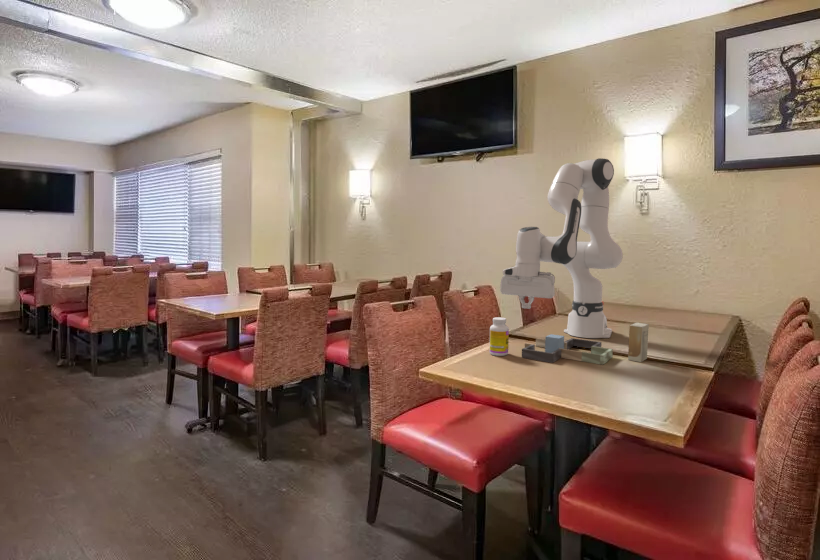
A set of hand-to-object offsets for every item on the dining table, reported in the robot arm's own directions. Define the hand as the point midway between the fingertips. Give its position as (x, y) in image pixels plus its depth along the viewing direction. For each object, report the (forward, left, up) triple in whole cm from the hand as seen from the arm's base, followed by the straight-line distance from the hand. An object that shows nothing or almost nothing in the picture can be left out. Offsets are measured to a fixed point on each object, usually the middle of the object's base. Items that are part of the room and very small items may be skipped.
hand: (526, 308), depth 178 cm
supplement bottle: (+14, -4, -15) cm, 21 cm away
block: (0, +11, -15) cm, 19 cm away
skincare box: (-8, +37, -15) cm, 41 cm away
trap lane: (0, +15, -15) cm, 21 cm away
